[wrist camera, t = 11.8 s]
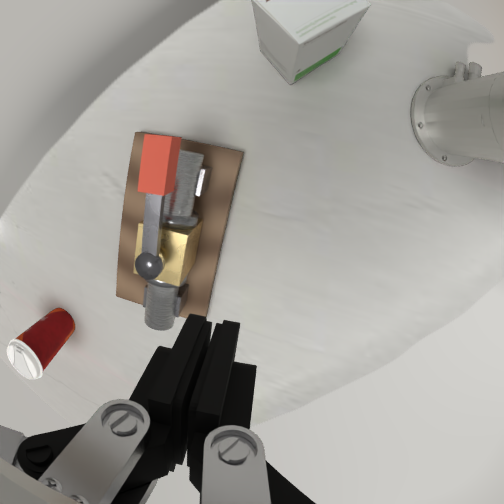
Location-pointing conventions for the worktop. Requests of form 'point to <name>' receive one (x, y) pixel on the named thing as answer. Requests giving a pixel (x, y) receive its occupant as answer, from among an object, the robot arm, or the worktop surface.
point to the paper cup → (40, 343)
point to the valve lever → (155, 197)
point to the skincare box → (304, 32)
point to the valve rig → (179, 232)
